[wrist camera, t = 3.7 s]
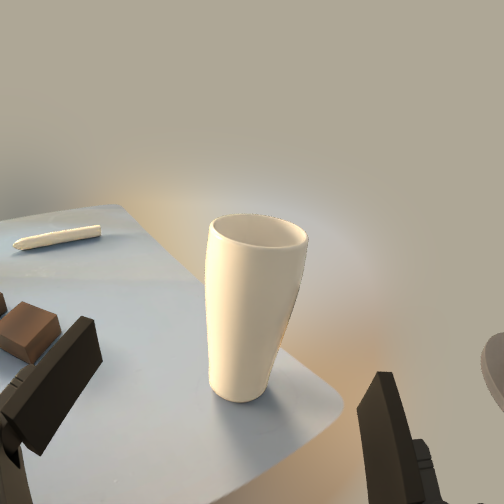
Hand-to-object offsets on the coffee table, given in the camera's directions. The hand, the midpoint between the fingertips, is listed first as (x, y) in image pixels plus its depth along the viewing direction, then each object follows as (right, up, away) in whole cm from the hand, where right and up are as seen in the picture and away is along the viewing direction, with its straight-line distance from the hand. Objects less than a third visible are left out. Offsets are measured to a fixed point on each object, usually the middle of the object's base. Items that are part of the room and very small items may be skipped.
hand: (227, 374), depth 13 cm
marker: (-34, +7, +34) cm, 49 cm away
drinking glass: (0, -7, +14) cm, 15 cm away
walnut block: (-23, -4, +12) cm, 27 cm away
